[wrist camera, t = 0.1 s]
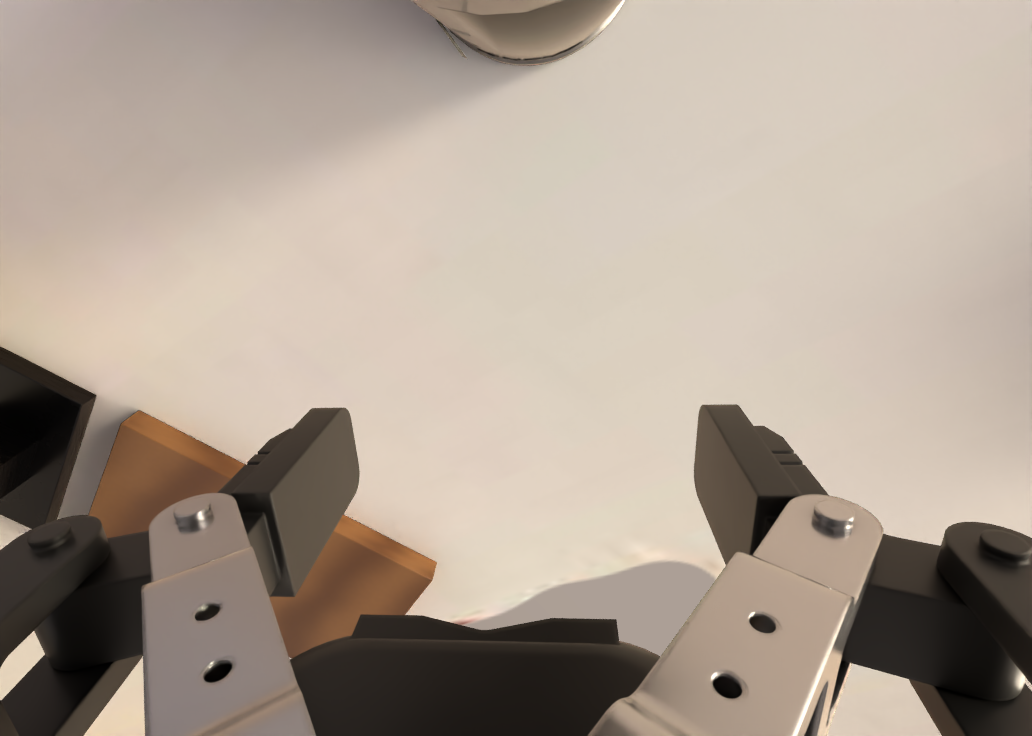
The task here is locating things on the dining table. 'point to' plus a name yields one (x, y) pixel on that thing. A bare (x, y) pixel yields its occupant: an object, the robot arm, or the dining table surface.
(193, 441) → the board
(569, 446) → the dining table surface
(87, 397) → the stand
